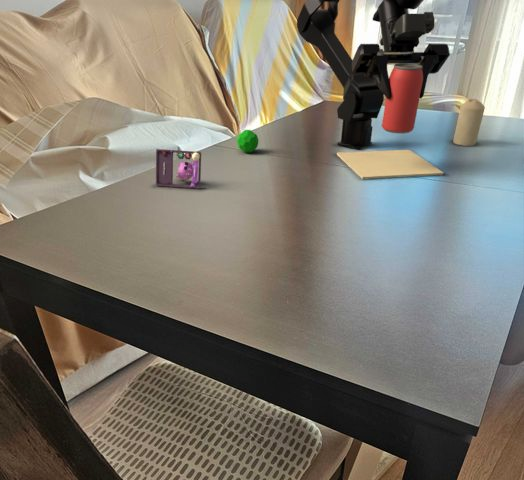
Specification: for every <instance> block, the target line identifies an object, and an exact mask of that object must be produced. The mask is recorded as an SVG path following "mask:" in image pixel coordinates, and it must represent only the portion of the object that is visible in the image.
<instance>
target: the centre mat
mask: <svg viewBox="0 0 524 480" xmlns="http://www.w3.org/2000/svg"><path fill="white" fill-rule="evenodd" d="M336 156H337V157H338V158H340V160H341V161H343V162H344V163H345V164H346V165H347V166H348V167H349V168H350V169H351V170H352V171H353V172H354V173H355V174H356V175H357V176H358V177H359V178H360V179H362V180H377V179H392V178H395V179H396V178H413V177H431V176H432V177H433V176H444V174H445V172H444V171H442V170H440V169H439V168H438V167H436V166H435V165H433V164H431V163H430V162H429V161H427V160H426V159H424V158H423V157H421V155H418V154H417V153H415V152H414V151H412V150H410V149H392V150H391V149H390V150H389V149H388V150H371V151H370V150H369V151H368V150H367V151H347V152H336Z"/></svg>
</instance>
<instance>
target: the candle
mask: <svg viewBox="0 0 524 480" xmlns="http://www.w3.org/2000/svg"><path fill="white" fill-rule="evenodd" d="M485 109H486V107H485V104H483V102H481V101H480V100H479V99H478V98H470V99H467V100H465V102H463V103H462V104H461V105H460V109H459V113H458V117H457V122H456V127H455V131H454V136H453V139H452V140H453V142H452V143H453V144H455V145H458V146H463V147H464V146H465V147H470V146H471V147H472V146H476V144H477V141H478V138H479V137H478V136H479V133H480V128H481V125H482V121H483V118H484V117H483V116H484V112H485Z"/></svg>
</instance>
